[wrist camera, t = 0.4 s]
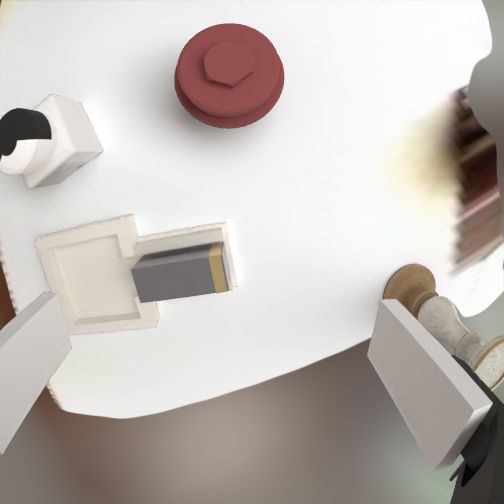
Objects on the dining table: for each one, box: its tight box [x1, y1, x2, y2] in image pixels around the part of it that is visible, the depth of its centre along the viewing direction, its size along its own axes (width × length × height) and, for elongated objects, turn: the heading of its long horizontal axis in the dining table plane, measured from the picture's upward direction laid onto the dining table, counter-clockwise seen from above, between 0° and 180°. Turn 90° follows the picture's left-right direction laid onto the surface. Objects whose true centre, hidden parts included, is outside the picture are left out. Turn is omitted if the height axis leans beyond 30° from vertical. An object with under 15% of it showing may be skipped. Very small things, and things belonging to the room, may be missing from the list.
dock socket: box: [35, 214, 237, 335], centre depth 37 cm, size 14×25×3 cm, turn 99°
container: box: [0, 94, 103, 189], centre depth 26 cm, size 8×8×13 cm
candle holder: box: [384, 264, 504, 391], centre depth 31 cm, size 9×9×20 cm
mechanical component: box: [175, 23, 284, 129], centre depth 26 cm, size 12×10×10 cm
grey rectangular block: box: [131, 242, 230, 303], centre depth 34 cm, size 4×10×5 cm, turn 99°
